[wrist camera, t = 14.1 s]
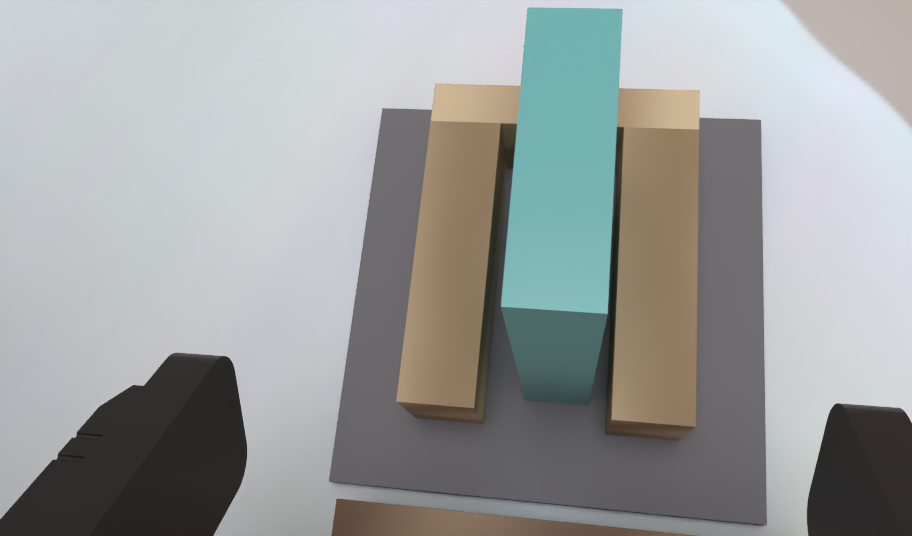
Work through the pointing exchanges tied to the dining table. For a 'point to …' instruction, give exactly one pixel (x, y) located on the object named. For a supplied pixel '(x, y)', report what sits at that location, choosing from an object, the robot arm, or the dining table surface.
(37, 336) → the dining table surface
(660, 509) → the mat
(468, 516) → the brown wooden stand
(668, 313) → the rack
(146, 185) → the dining table surface
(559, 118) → the teal rectangular pillar
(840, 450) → the robot arm
